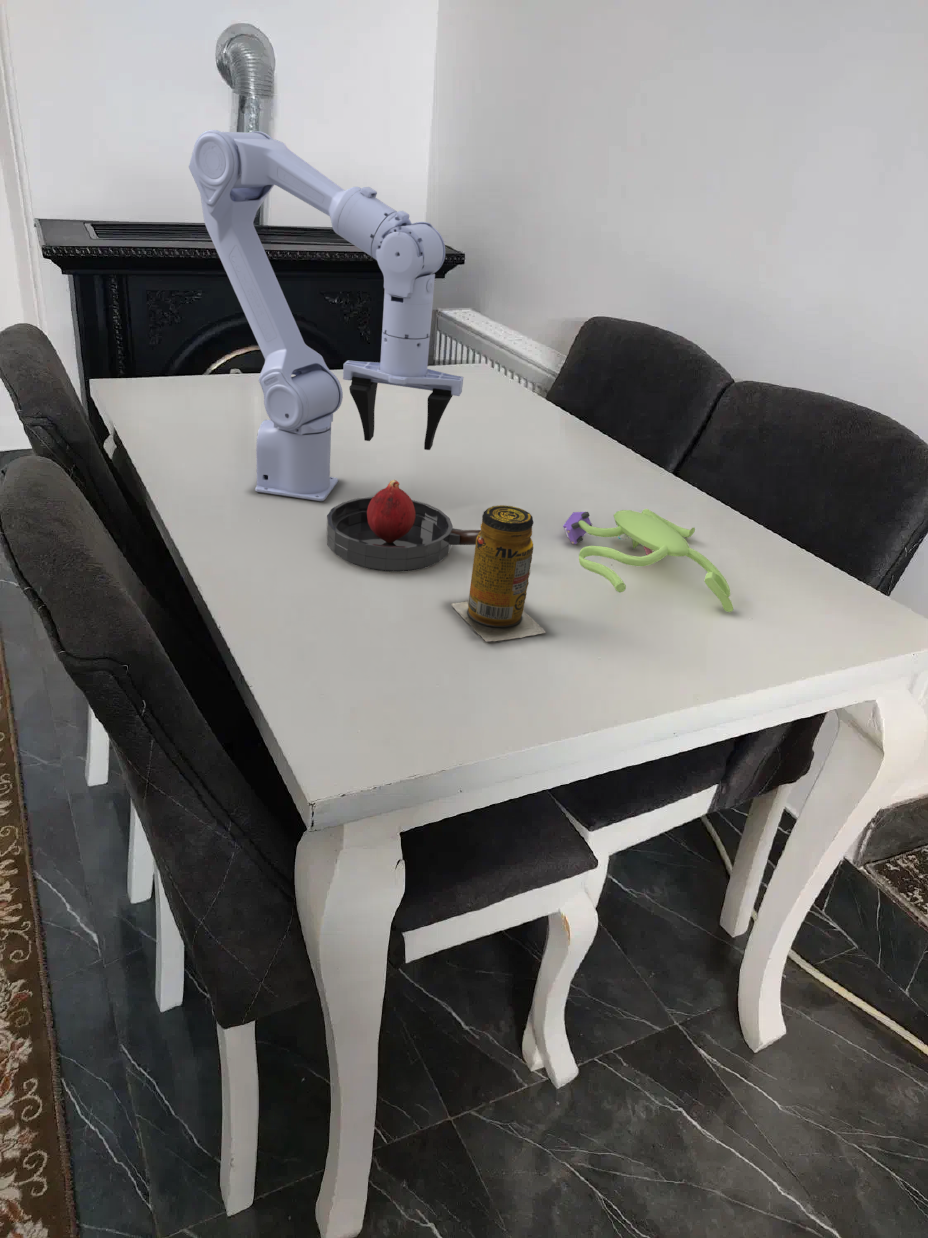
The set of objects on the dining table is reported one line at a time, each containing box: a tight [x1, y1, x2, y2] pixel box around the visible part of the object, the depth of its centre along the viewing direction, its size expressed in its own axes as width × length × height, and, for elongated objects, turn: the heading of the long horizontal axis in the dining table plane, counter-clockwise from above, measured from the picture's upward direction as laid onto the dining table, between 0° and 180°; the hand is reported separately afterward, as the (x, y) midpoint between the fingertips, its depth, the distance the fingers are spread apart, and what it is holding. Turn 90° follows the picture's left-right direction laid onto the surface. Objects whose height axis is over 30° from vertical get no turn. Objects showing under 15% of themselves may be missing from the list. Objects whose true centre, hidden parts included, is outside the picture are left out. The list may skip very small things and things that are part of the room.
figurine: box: [562, 508, 734, 613], centre depth 113 cm, size 18×27×6 cm
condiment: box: [450, 504, 547, 643], centre depth 96 cm, size 7×8×12 cm
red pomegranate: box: [367, 479, 415, 543], centre depth 110 cm, size 6×6×8 cm
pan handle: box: [449, 527, 481, 546], centre depth 110 cm, size 10×2×3 cm, turn 82°
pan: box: [326, 496, 454, 573], centre depth 112 cm, size 15×15×3 cm
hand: (398, 442), depth 116 cm, fingers open, 7 cm apart
